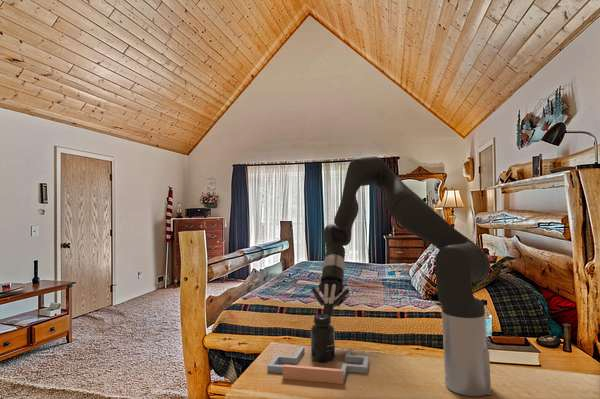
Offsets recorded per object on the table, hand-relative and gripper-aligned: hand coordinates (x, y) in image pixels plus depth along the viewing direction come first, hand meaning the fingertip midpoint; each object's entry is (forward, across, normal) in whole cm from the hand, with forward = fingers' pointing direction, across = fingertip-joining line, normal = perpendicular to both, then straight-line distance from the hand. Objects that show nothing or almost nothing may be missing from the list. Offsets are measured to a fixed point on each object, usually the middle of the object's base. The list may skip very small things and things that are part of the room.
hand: (327, 316), depth 111 cm
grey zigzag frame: (+16, 0, -3) cm, 17 cm away
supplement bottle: (+13, 0, 0) cm, 13 cm away
